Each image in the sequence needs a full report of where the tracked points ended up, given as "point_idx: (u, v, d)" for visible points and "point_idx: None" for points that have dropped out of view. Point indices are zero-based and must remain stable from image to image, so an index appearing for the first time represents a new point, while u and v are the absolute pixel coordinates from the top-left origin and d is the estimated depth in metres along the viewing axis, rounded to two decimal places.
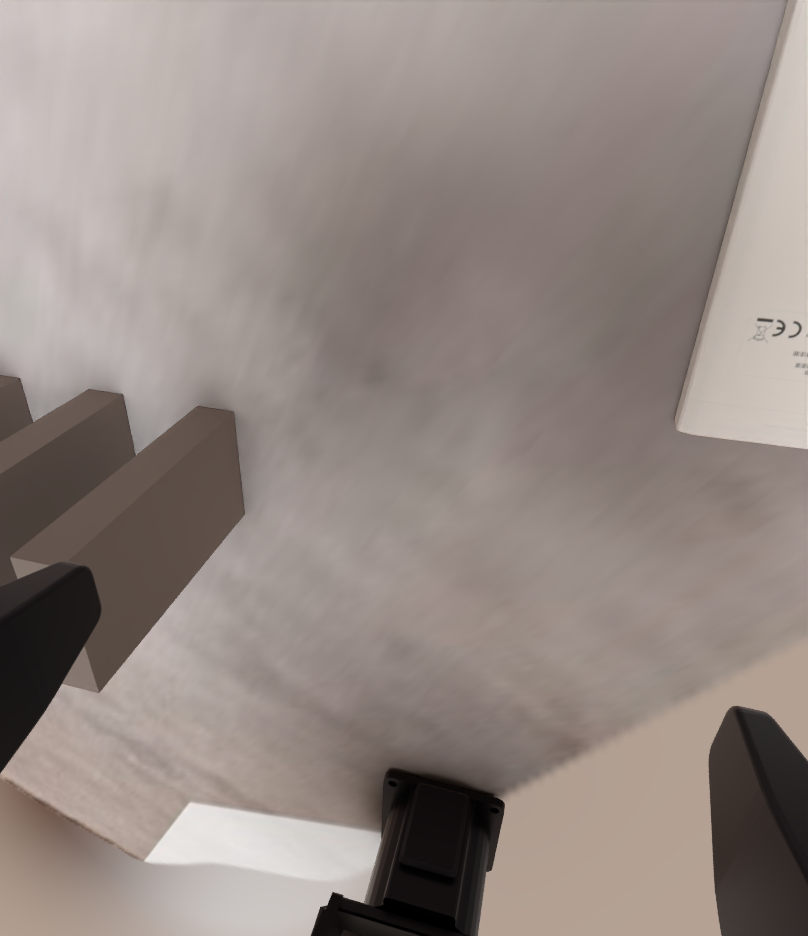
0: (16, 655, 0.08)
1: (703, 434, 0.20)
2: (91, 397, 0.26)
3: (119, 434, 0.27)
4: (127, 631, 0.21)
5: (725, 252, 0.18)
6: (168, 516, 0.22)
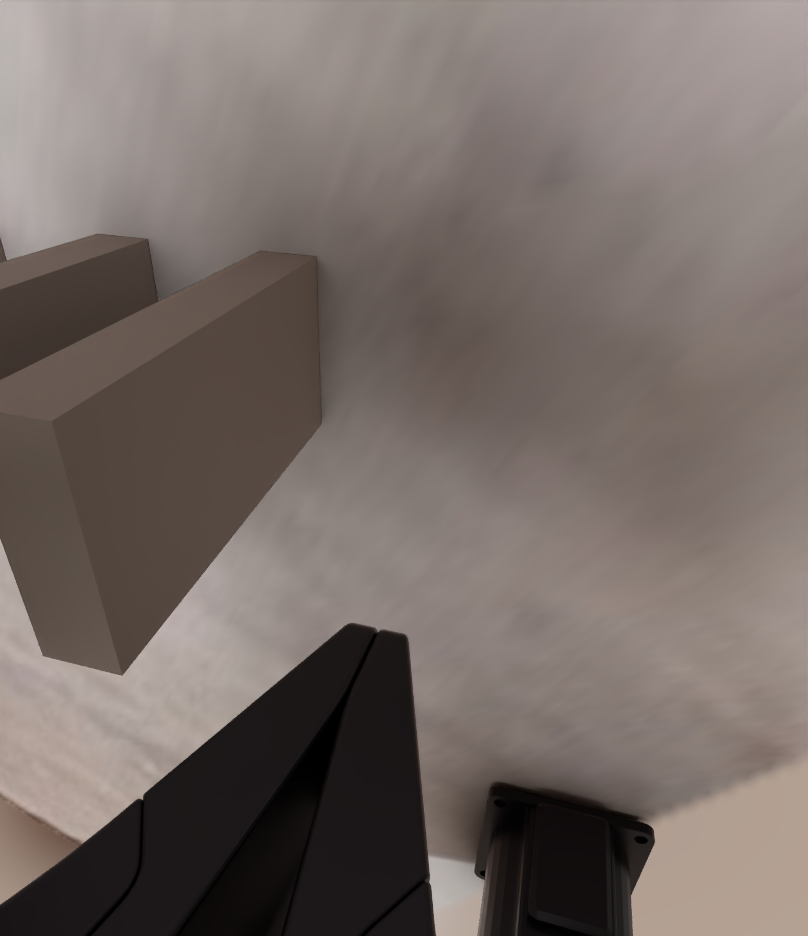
0: None
1: None
2: (101, 240, 0.17)
3: (142, 300, 0.18)
4: (168, 571, 0.12)
5: None
6: (231, 388, 0.13)
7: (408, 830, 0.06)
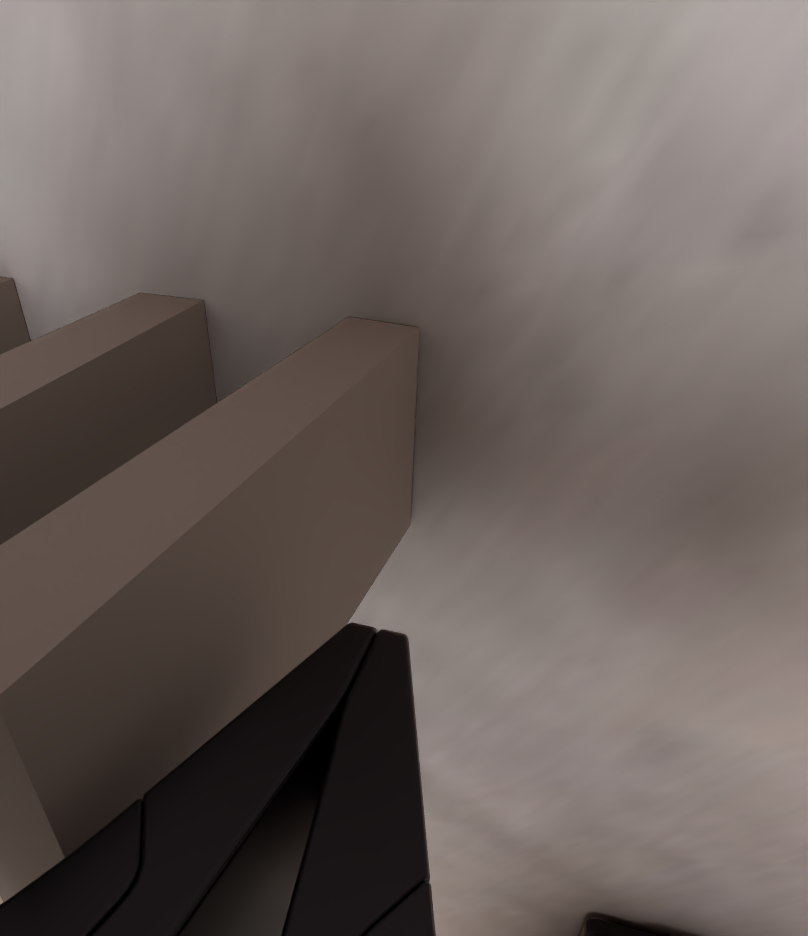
0: None
1: None
2: (146, 303, 0.14)
3: (196, 376, 0.14)
4: None
5: None
6: (301, 526, 0.10)
7: (408, 830, 0.06)
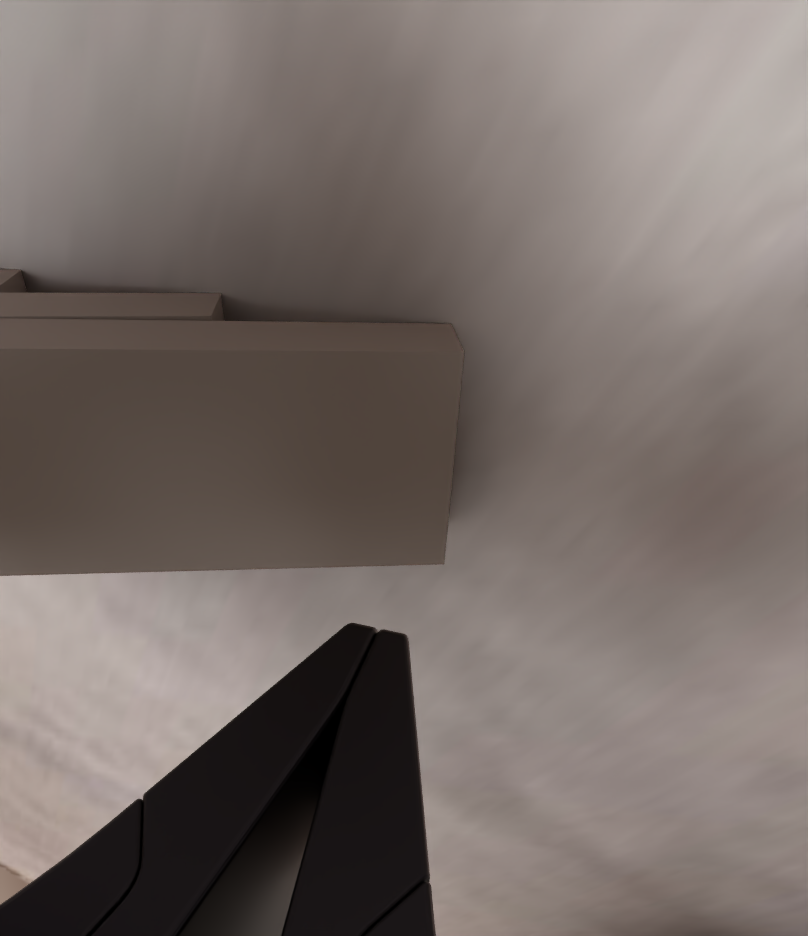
0: None
1: None
2: (188, 300, 0.13)
3: None
4: (45, 539, 0.13)
5: None
6: (185, 429, 0.12)
7: (408, 830, 0.06)
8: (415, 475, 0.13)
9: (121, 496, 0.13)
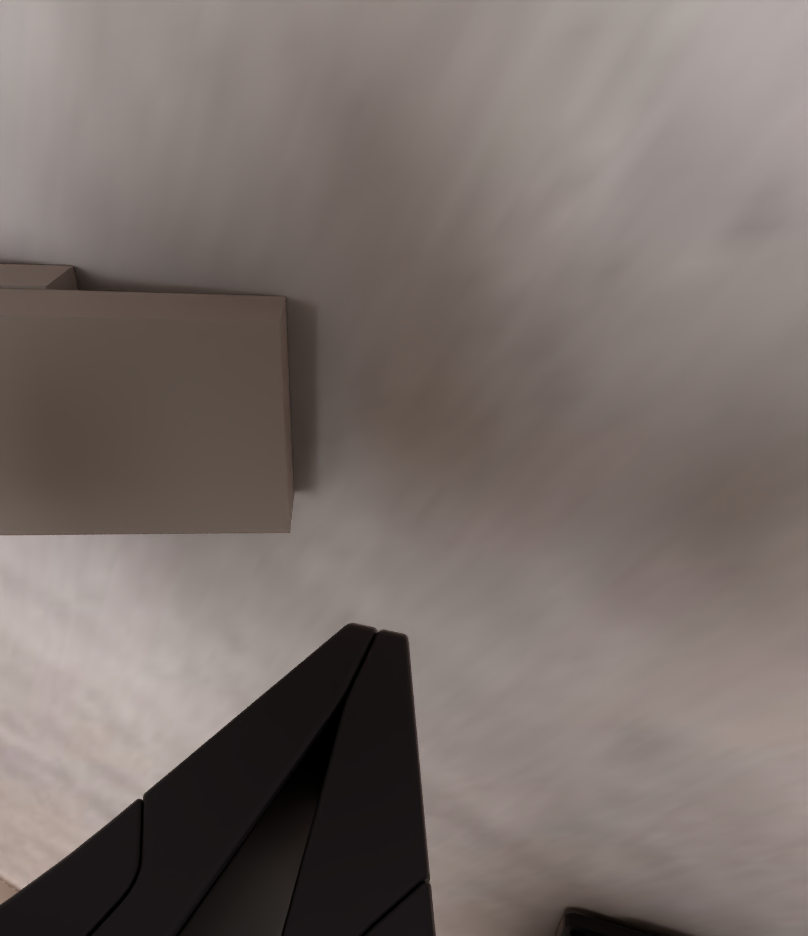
0: None
1: None
2: (34, 272, 0.14)
3: None
4: None
5: None
6: (12, 394, 0.12)
7: (408, 830, 0.06)
8: (248, 443, 0.13)
9: None
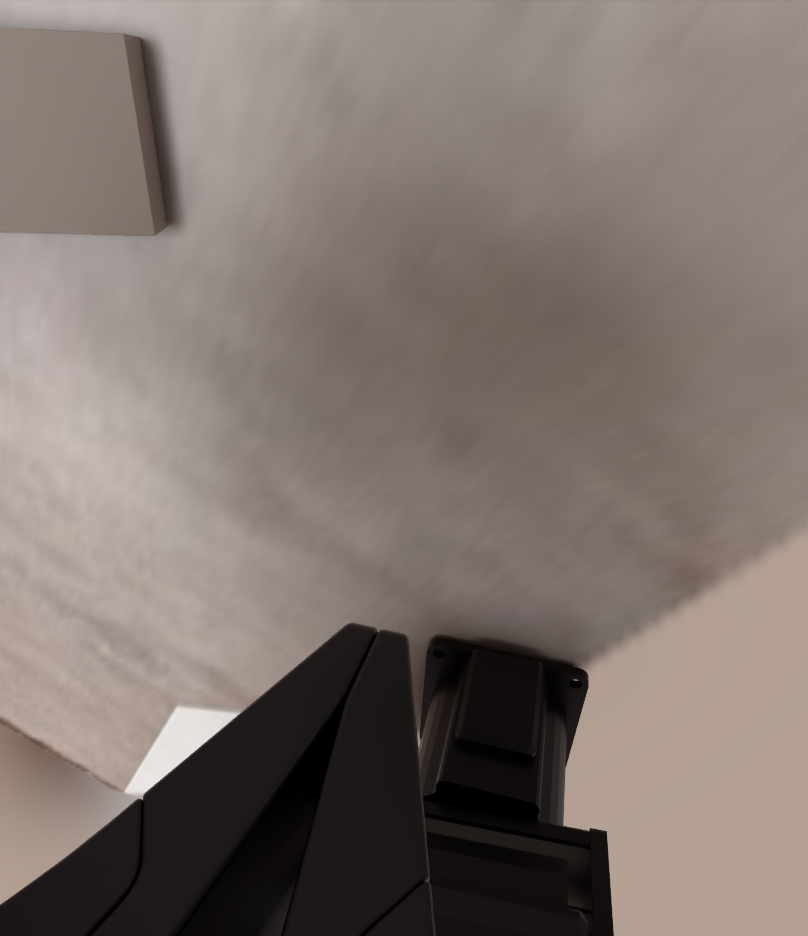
0: None
1: None
2: None
3: None
4: None
5: None
6: None
7: (408, 830, 0.06)
8: (112, 147, 0.18)
9: None
